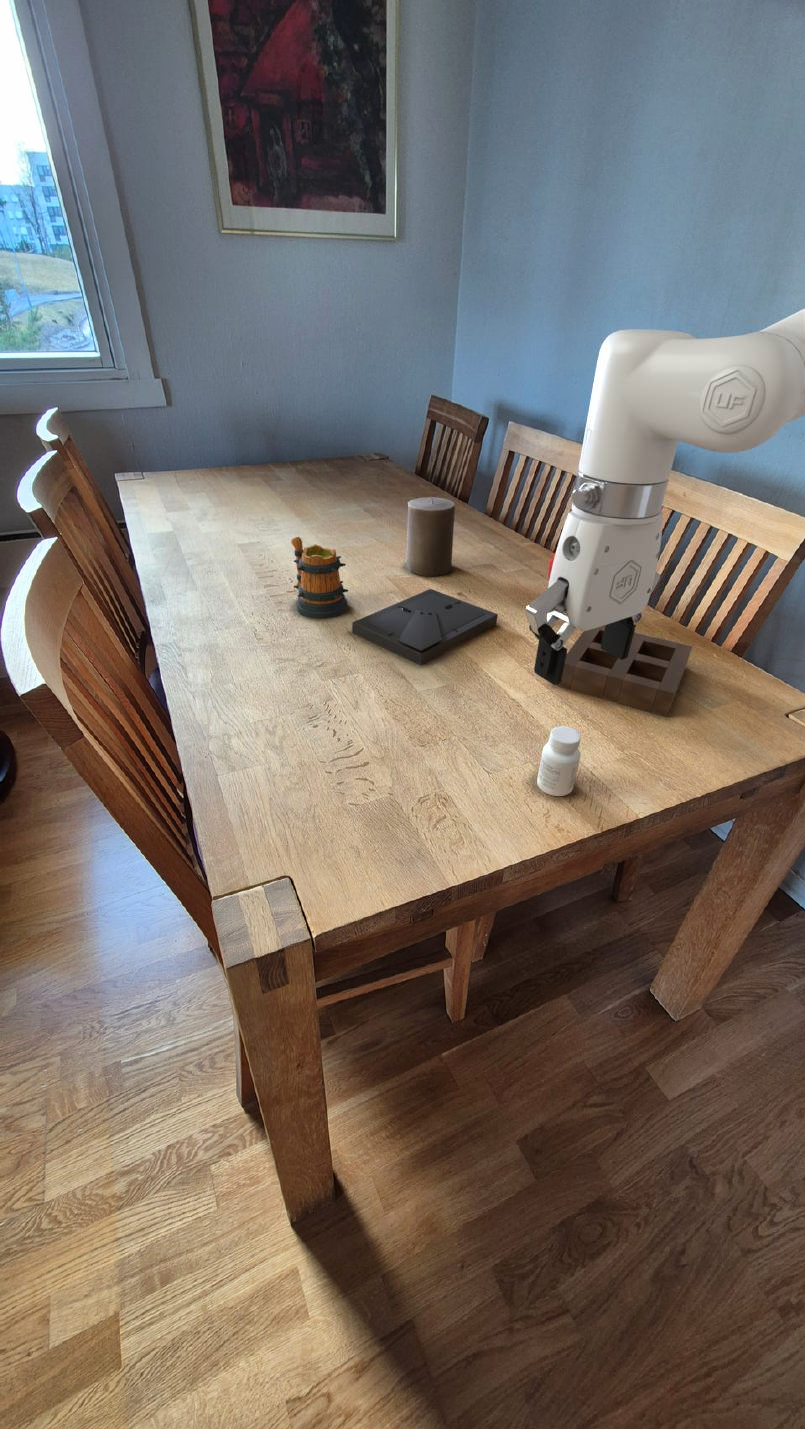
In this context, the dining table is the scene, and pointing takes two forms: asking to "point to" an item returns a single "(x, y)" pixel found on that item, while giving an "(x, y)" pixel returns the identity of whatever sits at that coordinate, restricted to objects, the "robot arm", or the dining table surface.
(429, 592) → the picture frame
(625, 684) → the grid rack
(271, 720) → the dining table surface
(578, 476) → the robot arm
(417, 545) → the pillar candle
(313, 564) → the mug
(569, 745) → the pill bottle
